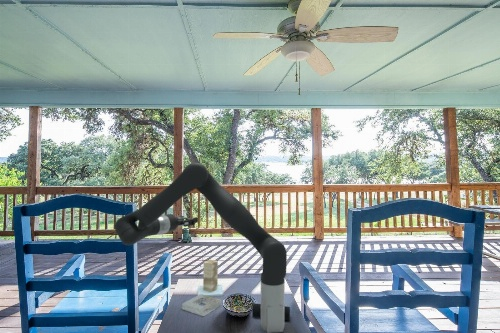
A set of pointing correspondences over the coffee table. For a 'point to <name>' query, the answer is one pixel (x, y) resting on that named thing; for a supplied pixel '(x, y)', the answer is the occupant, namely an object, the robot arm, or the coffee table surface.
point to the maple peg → (210, 276)
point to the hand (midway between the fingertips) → (190, 219)
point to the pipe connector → (257, 311)
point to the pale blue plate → (215, 293)
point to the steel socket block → (197, 309)
